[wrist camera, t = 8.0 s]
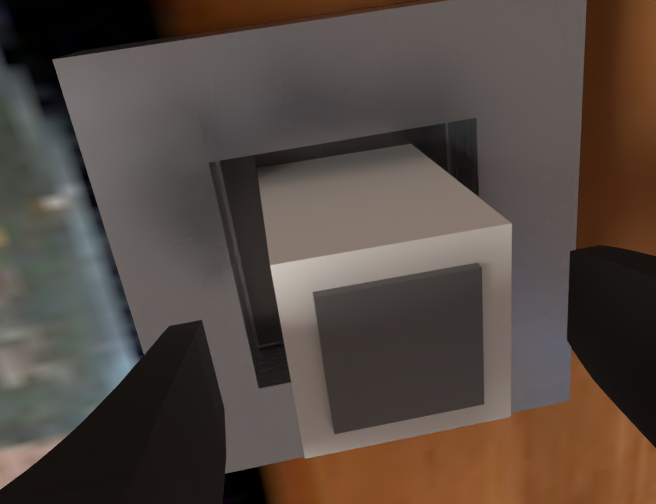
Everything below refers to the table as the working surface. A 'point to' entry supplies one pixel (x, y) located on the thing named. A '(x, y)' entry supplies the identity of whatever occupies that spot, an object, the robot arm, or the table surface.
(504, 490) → the table surface
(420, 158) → the plug
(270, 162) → the socket
